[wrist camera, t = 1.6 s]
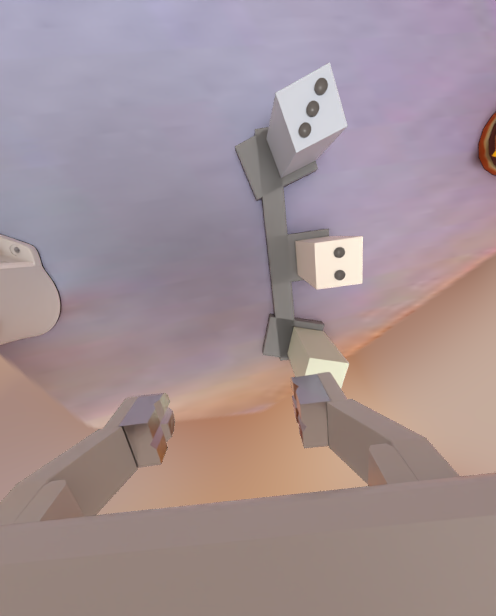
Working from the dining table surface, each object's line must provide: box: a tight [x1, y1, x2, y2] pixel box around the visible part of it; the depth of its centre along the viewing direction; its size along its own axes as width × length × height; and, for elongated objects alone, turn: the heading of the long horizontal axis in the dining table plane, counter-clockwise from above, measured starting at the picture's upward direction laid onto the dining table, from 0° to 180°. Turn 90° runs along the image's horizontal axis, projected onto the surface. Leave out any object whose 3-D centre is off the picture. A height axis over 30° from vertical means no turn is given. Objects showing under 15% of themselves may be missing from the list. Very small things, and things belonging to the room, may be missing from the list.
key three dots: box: [266, 63, 347, 178], centre depth 25 cm, size 5×5×10 cm
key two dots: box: [295, 236, 363, 289], centre depth 29 cm, size 5×5×10 cm
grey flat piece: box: [235, 127, 329, 361], centre depth 35 cm, size 12×36×2 cm, turn 8°
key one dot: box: [287, 327, 349, 388], centre depth 34 cm, size 5×5×10 cm
